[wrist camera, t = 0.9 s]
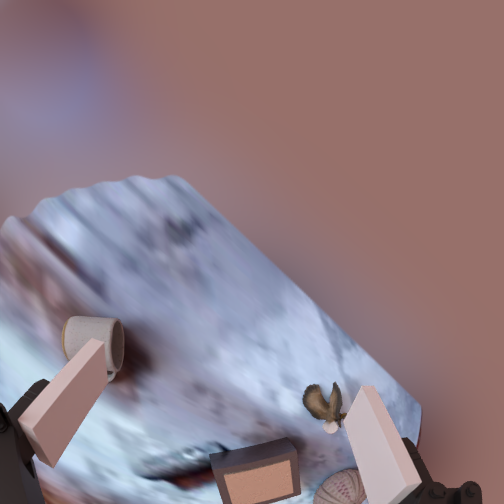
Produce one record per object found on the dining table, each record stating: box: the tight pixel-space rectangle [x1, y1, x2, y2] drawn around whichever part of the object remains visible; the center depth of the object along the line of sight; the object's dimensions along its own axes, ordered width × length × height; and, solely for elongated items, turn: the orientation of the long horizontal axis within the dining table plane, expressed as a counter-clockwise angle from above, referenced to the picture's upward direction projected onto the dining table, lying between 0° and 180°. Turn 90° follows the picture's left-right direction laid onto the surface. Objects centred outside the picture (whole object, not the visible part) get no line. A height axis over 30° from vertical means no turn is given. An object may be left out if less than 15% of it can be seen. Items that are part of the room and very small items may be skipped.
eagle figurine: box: [303, 382, 347, 434], centre depth 42 cm, size 8×7×9 cm
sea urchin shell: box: [313, 469, 367, 504], centre depth 40 cm, size 13×14×8 cm
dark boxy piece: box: [209, 437, 301, 504], centre depth 38 cm, size 12×14×5 cm
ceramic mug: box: [62, 316, 124, 382], centre depth 34 cm, size 11×8×8 cm
